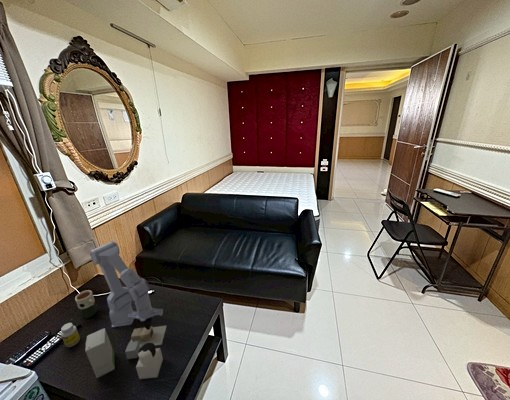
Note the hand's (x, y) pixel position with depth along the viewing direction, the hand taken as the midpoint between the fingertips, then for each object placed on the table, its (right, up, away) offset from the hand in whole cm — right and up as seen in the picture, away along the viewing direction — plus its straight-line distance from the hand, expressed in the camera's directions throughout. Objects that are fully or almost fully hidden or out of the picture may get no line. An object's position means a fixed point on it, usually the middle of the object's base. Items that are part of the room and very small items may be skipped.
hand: (149, 327), depth 99 cm
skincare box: (-13, -10, -10) cm, 20 cm away
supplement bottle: (-36, -7, 0) cm, 37 cm away
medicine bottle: (+7, -10, -11) cm, 17 cm away
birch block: (+1, -3, +1) cm, 4 cm away
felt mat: (-1, -6, +2) cm, 6 cm away
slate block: (-4, -8, -6) cm, 11 cm away
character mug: (-39, -2, +15) cm, 42 cm away
